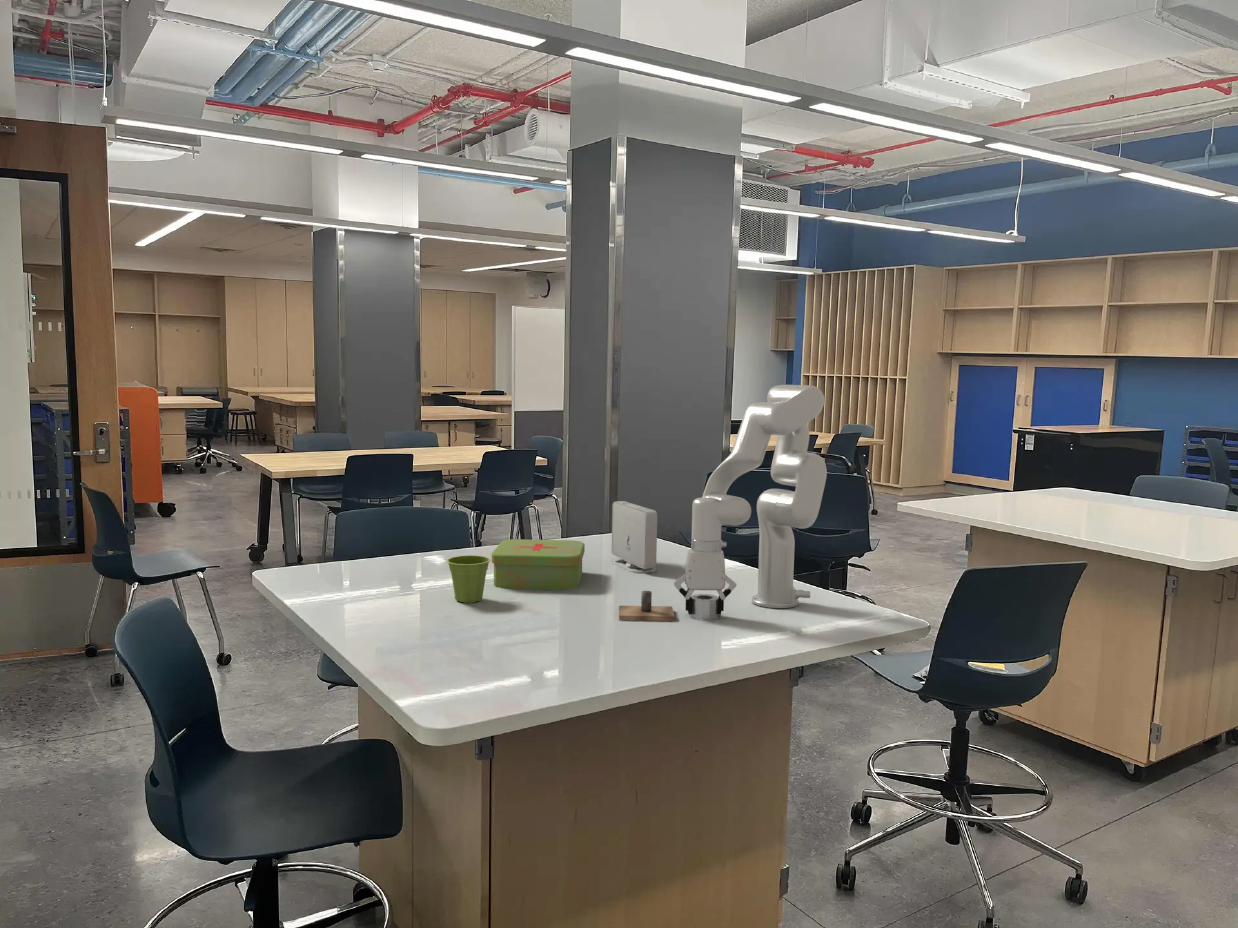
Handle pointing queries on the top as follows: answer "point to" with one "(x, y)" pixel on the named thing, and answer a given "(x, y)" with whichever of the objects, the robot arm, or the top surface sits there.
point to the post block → (646, 611)
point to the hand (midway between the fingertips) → (704, 613)
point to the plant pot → (468, 576)
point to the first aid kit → (538, 564)
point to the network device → (634, 536)
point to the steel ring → (704, 606)
